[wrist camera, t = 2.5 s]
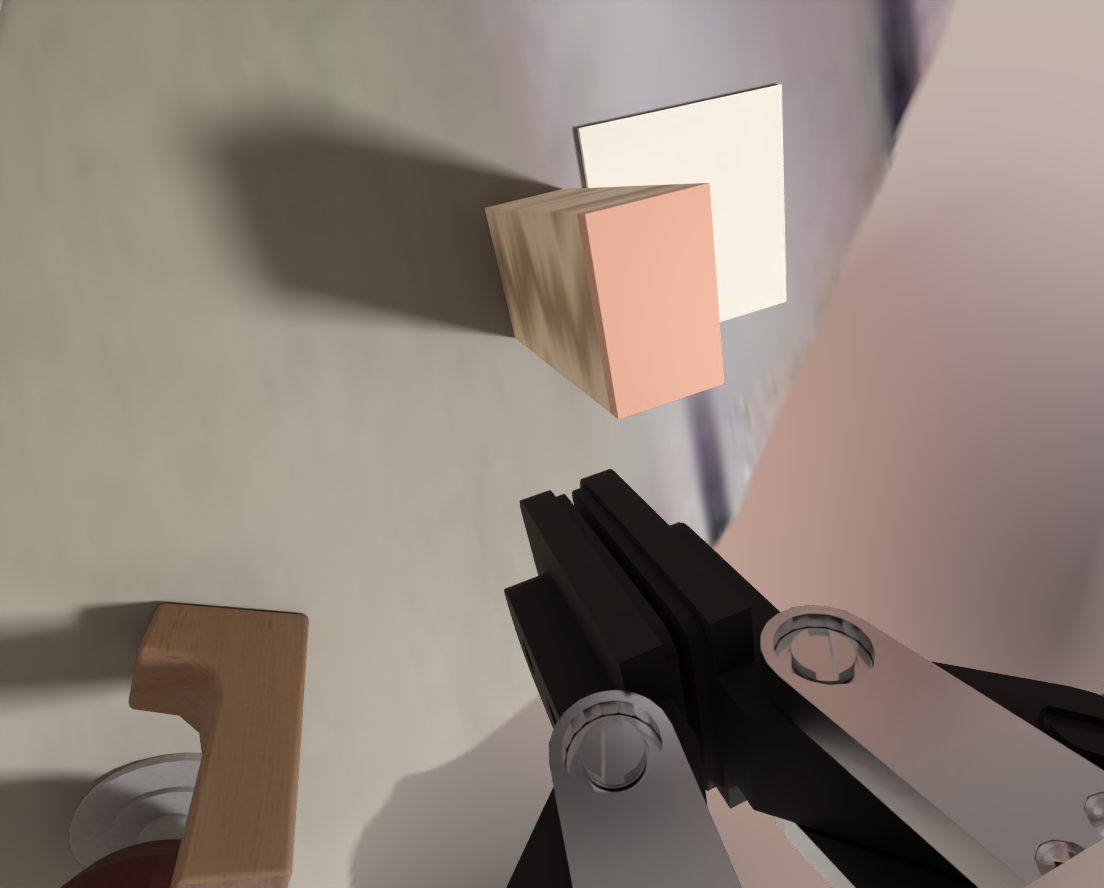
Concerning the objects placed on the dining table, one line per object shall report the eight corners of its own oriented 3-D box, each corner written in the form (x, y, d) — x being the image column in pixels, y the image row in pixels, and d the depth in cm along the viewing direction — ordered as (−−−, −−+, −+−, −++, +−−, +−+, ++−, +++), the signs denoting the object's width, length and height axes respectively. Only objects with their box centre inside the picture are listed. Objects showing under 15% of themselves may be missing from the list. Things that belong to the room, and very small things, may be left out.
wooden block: (147, 658, 38) (13, 983, 22) (158, 599, 37) (25, 899, 21) (295, 665, 42) (271, 948, 26) (310, 612, 40) (293, 875, 25)
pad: (577, 128, 34) (578, 128, 34) (778, 84, 37) (781, 84, 37) (612, 353, 41) (614, 354, 40) (783, 300, 44) (786, 301, 43)
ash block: (484, 207, 34) (584, 214, 21) (562, 189, 36) (709, 182, 22) (514, 337, 38) (618, 419, 24) (585, 317, 39) (724, 383, 25)
